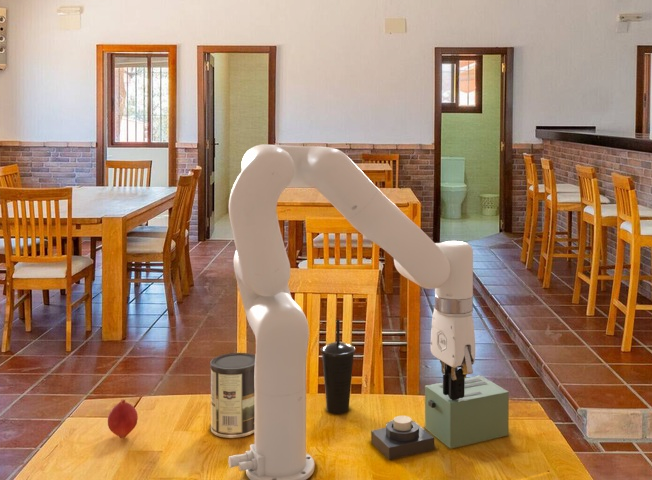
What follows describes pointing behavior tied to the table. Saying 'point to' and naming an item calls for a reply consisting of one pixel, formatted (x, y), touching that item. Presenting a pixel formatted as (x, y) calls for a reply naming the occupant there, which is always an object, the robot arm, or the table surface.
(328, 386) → the drinking cup
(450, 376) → the slider
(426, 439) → the control block
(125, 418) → the onion
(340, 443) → the table surface
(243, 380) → the coffee can
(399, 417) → the button
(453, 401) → the toaster
